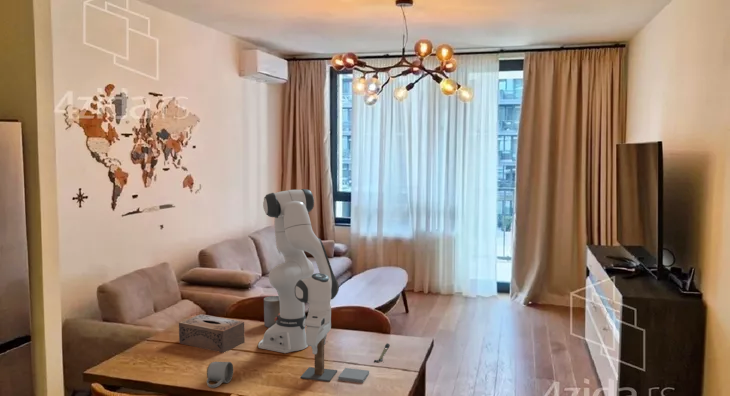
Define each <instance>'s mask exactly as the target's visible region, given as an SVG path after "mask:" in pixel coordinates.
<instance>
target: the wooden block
mask: <svg viewBox="0 0 730 396" xmlns="http://www.w3.org/2000/svg"><path fill="white" fill-rule="evenodd" d="M317 349H318V353H317V354H314V368H315V375H323V373H324V369H325V345H324V338H323V339H322V340H321V341H320V342H319V343H318V345H317Z"/></svg>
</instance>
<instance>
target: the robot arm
mask: <svg viewBox="0 0 730 396" xmlns="http://www.w3.org/2000/svg"><path fill="white" fill-rule="evenodd" d="M314 207H315V197H314V195H313V192H312V191H311V190H310V189H306V188H304V189H303V188H302V189H287V190H283V191H278V192H270V193H267V194H266V195H265V196H264V198H263V202H262V208H263V210H264V212H265V215H267V216H268V217H270V218H273V219H274V235H275V236H274V237H275V243H276V249H277V252H280V253H281V254H282V256H283V258H284V261H285V262H282V263H279V264H278V265H276V266H275V267H273V268H272V269H270V271H269V272H268V281H269V283H270V284H269V285H271V286H272V288H274V289H275V290H276V292H277V296H279V301H280V313H279V314H278V316H277V317H276V318H275V321H276V323H275V324H274V325H273V326H271V327H270V328H268V329H267V330H266V331H265V332H264V333H263V338H262V339H261V340H260V341H259V342H258V344H257V347H258V349H263V350H268V351H272V352H278V353H283V354H289V353H291V352H297V351H298V352H299V351H301V350H304V349H306V348H307V347H311V349H312V355H315V354H317V353H318V349H317V345H318V343H319V342H320V341H321V340H322V339H323V338H324V346H325V345H326V340H327V336H328V333H329V332H330V331H331V330H332V329H331V328H332V305H331V300H333V299H335V298H336V296H337V295H338V293H339V290H340V285H339V282H338V280H337V279H338V278H336V276H335V274H334V271H333V268H332V266H331V262H330V260H329V258H328V254H327V251H326V248H325V246H324V244H323V243H324V242H322V239H321V238H318V236H317V235H316V234H315V232H314V230H313V227H312V222H311V218H310V214H309V213H310V212H312V210H313V209H314ZM305 252H306V253H308V254H310V255H311V256H312V257H313V258H314V260H315V262H316V265H317V268H318V272H319V273H318V272H317V273H315V272H314V271H315V267H314V264H313V262H312V261H311V260H310V259H309V258H308V257H307V255H306V253H305ZM306 303H307V304H308V312H307V316H306V313H305V312H306V311H305V310H306V309H305V305H306Z"/></svg>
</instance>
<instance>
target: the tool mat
mask: <svg viewBox="0 0 730 396" xmlns="http://www.w3.org/2000/svg"><path fill="white" fill-rule="evenodd" d="M337 373H338V370H337V369H330V368H324V373H323V375H315V366H314V367H311V366H308V367H307V369H306V370H305V371H304V372H303V373H302V374H301V376H300V379H303V380H304V379H305V380H312V381H319V382H320V381H322V382H328V383H329V382H331V380H332V379H333V378H334V377H335V375H336V374H337Z"/></svg>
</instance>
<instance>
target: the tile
mask: <svg viewBox="0 0 730 396" xmlns="http://www.w3.org/2000/svg"><path fill="white" fill-rule="evenodd" d="M369 375H370V370H365V369H357V368H351V367H344V369H343V370H342V371H341V372H340V374H339V375H338V376H337V377H338V378H337V379H338V381H343V382H344V381H345V382H350V383H361V384H364V383H365V381H366V380H367V378H368V376H369Z"/></svg>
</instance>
